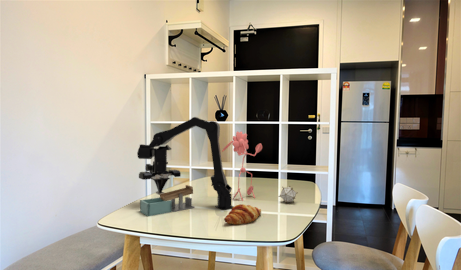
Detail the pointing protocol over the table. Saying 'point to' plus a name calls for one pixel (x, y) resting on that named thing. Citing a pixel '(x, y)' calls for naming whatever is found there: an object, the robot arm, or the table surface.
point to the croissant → (242, 214)
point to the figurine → (241, 147)
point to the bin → (155, 206)
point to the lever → (176, 193)
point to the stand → (182, 204)
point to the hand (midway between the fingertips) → (159, 192)
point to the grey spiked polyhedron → (288, 194)
